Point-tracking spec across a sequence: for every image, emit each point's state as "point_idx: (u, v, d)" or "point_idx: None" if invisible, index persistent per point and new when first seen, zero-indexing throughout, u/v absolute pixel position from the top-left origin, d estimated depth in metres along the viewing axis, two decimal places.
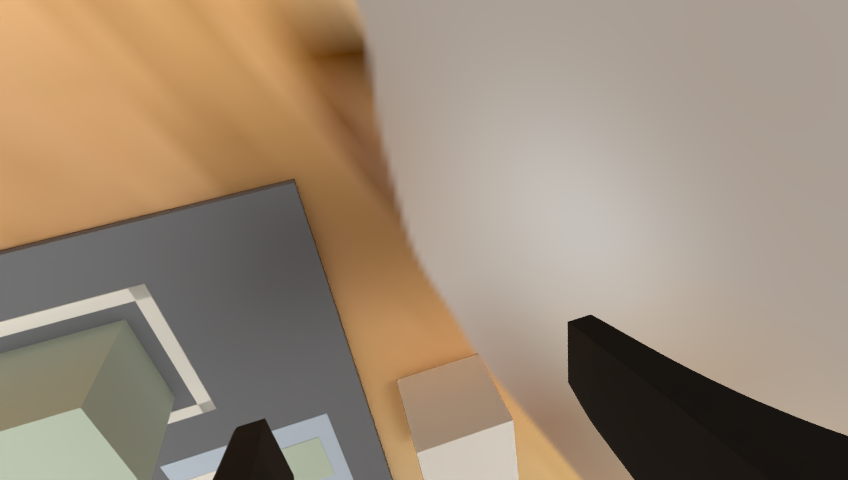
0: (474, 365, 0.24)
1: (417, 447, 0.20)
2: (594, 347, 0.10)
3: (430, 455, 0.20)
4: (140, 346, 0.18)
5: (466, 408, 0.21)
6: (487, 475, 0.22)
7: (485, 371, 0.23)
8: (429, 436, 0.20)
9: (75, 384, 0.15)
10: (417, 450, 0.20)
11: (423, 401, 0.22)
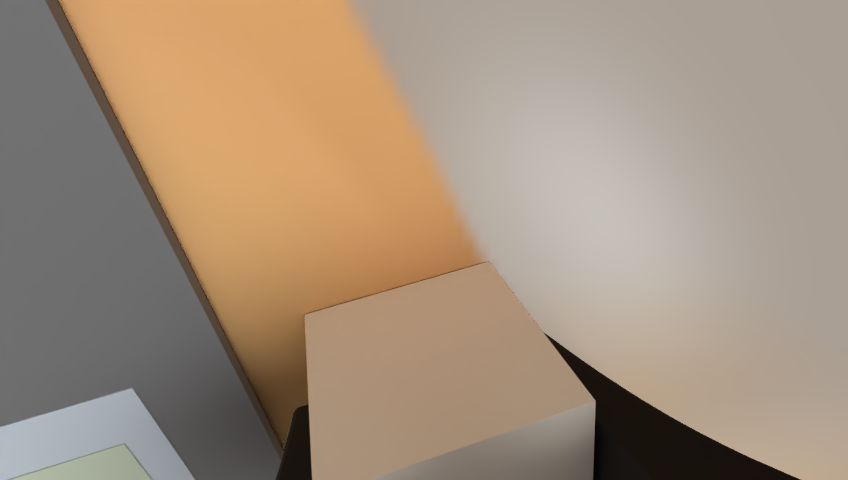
0: (483, 283, 0.10)
1: None
2: None
3: None
4: None
5: (463, 373, 0.08)
6: None
7: (508, 293, 0.10)
8: (358, 449, 0.07)
9: None
10: None
11: (357, 359, 0.09)
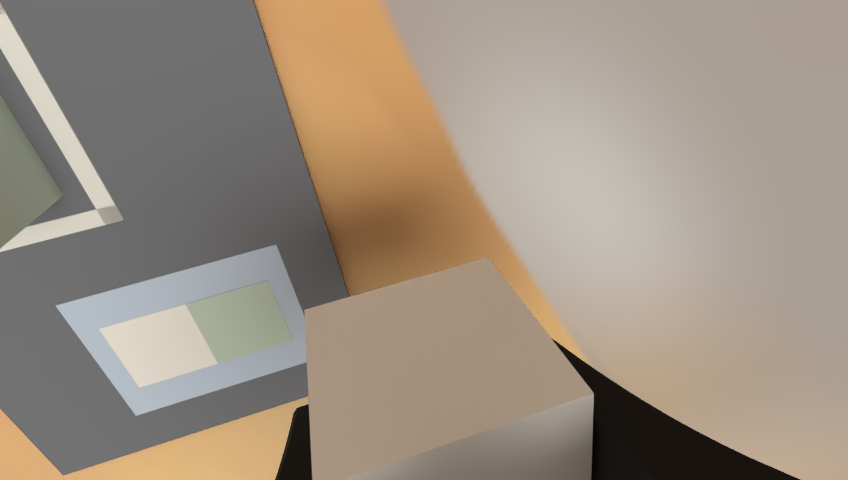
0: (482, 279, 0.10)
1: (318, 472, 0.07)
2: None
3: None
4: (0, 99, 0.13)
5: (462, 366, 0.08)
6: None
7: (507, 288, 0.10)
8: (357, 441, 0.07)
9: None
10: None
11: (356, 353, 0.09)
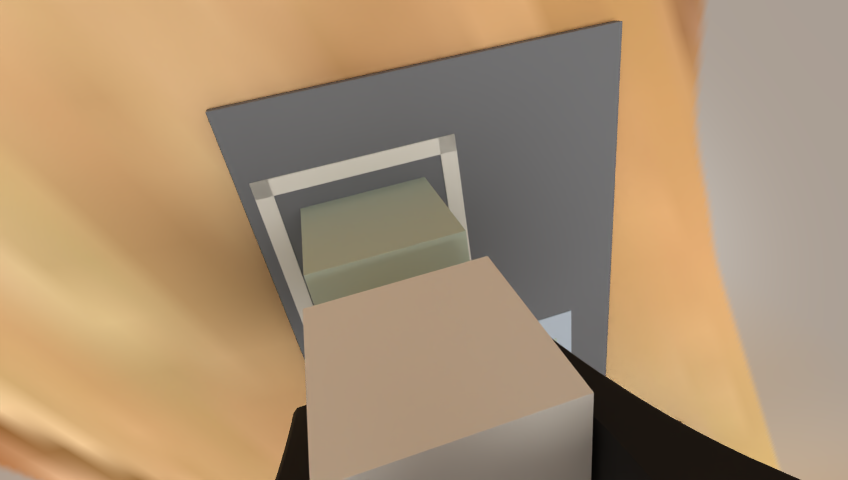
0: (481, 278, 0.10)
1: (315, 472, 0.07)
2: None
3: None
4: None
5: (460, 366, 0.08)
6: None
7: (506, 286, 0.10)
8: (355, 440, 0.07)
9: (432, 218, 0.14)
10: None
11: (354, 353, 0.09)
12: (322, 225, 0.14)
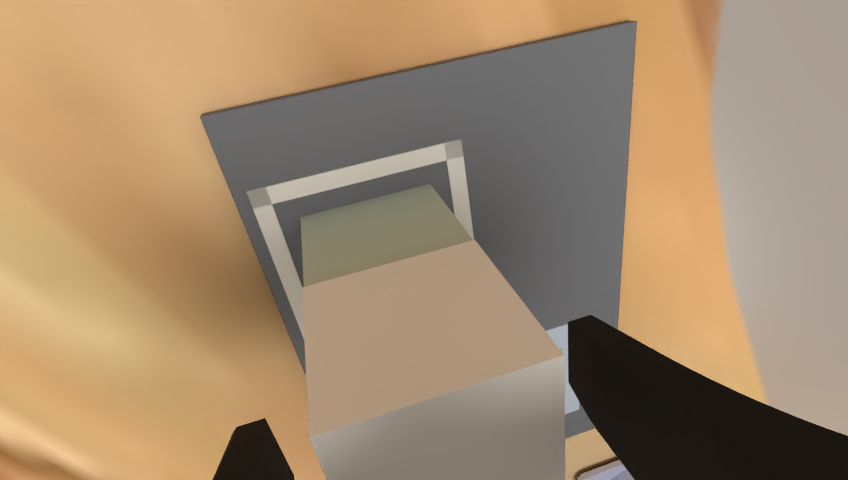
0: (468, 259, 0.11)
1: (313, 423, 0.08)
2: (594, 347, 0.10)
3: (349, 443, 0.08)
4: None
5: (446, 334, 0.09)
6: None
7: (491, 266, 0.11)
8: (350, 397, 0.08)
9: (439, 228, 0.13)
10: (311, 431, 0.07)
11: (350, 324, 0.10)
12: (323, 235, 0.14)
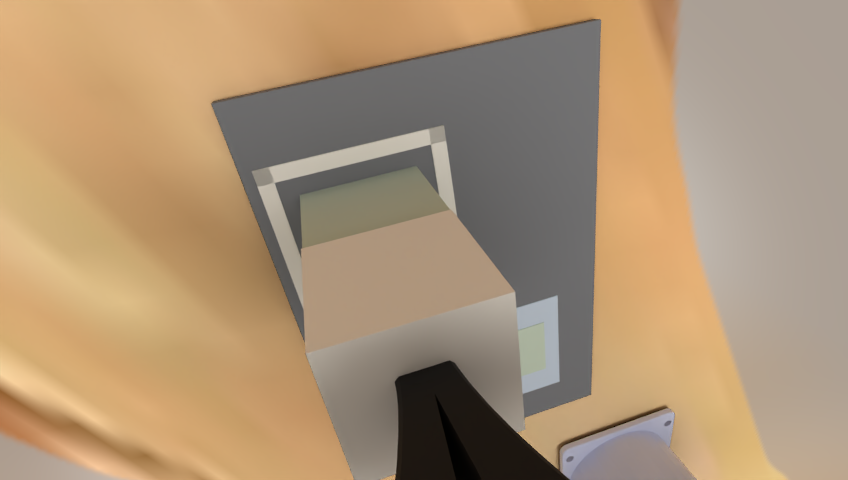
0: (444, 224, 0.13)
1: (309, 344, 0.09)
2: (436, 399, 0.09)
3: (338, 361, 0.09)
4: None
5: (421, 279, 0.11)
6: None
7: (463, 229, 0.12)
8: (339, 325, 0.10)
9: (422, 201, 0.15)
10: (307, 349, 0.09)
11: (341, 275, 0.11)
12: (320, 209, 0.15)
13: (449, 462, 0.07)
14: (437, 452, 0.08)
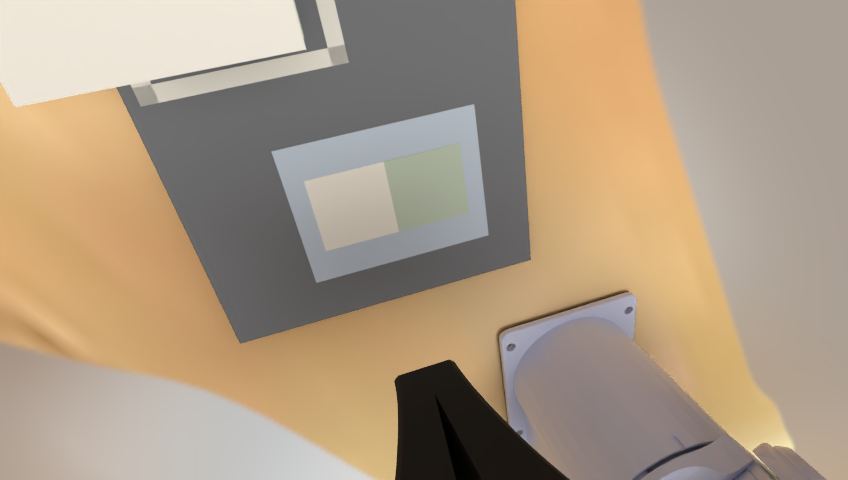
0: None
1: None
2: (436, 399, 0.09)
3: None
4: None
5: None
6: None
7: None
8: None
9: None
10: None
11: None
12: None
13: (449, 462, 0.07)
14: (437, 452, 0.08)
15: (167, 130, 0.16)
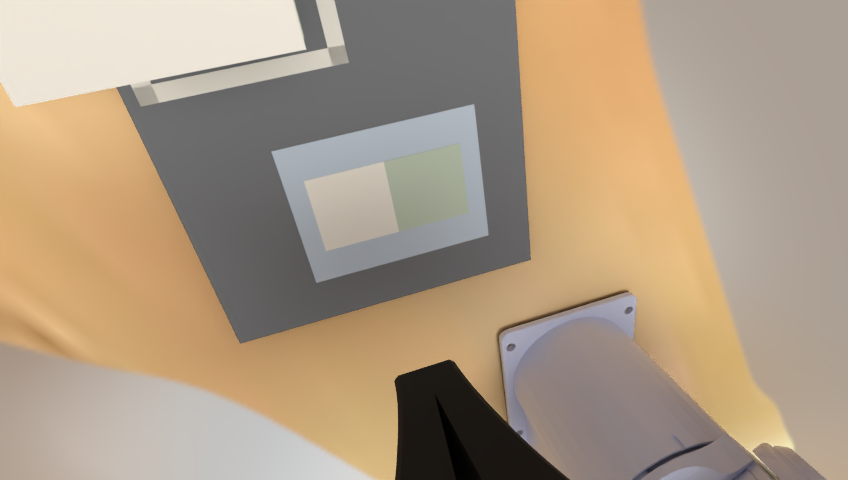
0: None
1: None
2: (436, 399, 0.09)
3: None
4: None
5: None
6: None
7: None
8: None
9: None
10: None
11: None
12: None
13: (449, 462, 0.07)
14: (437, 452, 0.08)
15: (167, 130, 0.16)
